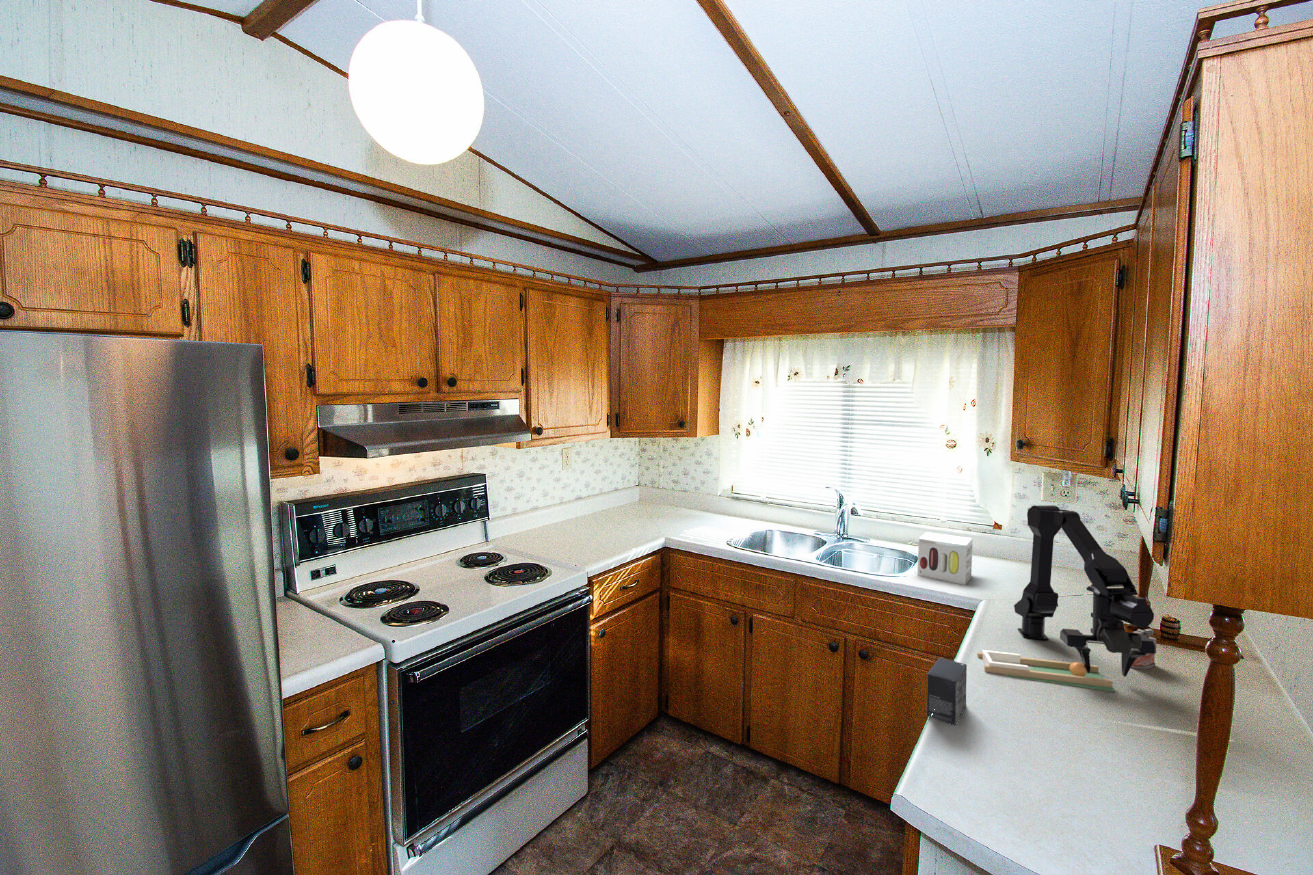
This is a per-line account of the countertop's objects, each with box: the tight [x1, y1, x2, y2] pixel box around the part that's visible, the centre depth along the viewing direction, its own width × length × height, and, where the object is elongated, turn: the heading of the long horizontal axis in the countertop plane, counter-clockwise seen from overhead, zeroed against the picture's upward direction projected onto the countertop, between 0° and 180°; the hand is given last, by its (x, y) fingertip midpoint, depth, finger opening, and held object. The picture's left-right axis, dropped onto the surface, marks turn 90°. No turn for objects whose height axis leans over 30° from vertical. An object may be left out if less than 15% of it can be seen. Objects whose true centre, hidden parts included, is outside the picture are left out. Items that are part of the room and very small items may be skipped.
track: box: [976, 651, 1115, 692], centre depth 152 cm, size 11×28×2 cm, turn 73°
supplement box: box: [917, 531, 974, 586], centre depth 226 cm, size 17×13×18 cm
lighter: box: [1130, 628, 1158, 671], centre depth 156 cm, size 8×3×10 cm, turn 105°
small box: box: [926, 657, 968, 726], centre depth 133 cm, size 11×6×10 cm, turn 141°
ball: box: [1069, 661, 1087, 676], centre depth 149 cm, size 4×4×4 cm
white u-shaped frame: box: [981, 649, 1030, 671], centre depth 154 cm, size 8×9×2 cm
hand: (1106, 673), depth 147 cm, fingers open, 7 cm apart
